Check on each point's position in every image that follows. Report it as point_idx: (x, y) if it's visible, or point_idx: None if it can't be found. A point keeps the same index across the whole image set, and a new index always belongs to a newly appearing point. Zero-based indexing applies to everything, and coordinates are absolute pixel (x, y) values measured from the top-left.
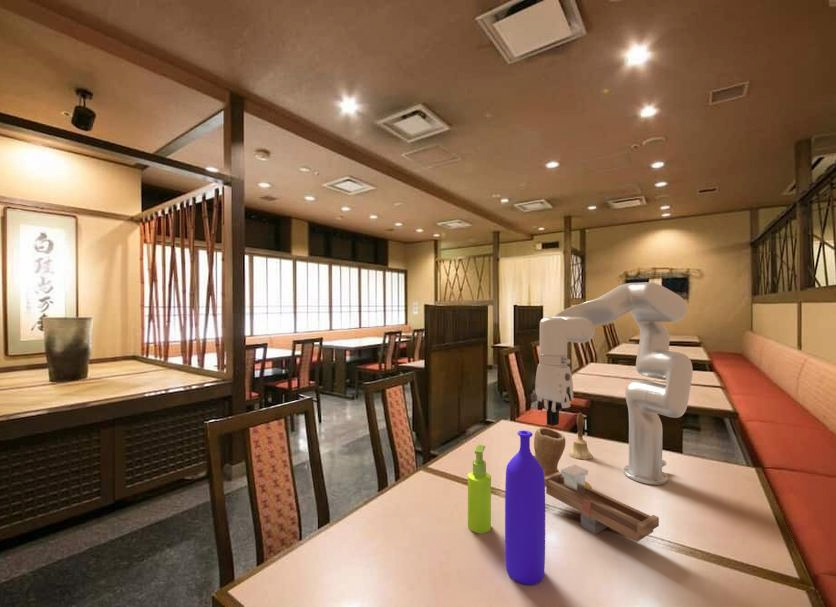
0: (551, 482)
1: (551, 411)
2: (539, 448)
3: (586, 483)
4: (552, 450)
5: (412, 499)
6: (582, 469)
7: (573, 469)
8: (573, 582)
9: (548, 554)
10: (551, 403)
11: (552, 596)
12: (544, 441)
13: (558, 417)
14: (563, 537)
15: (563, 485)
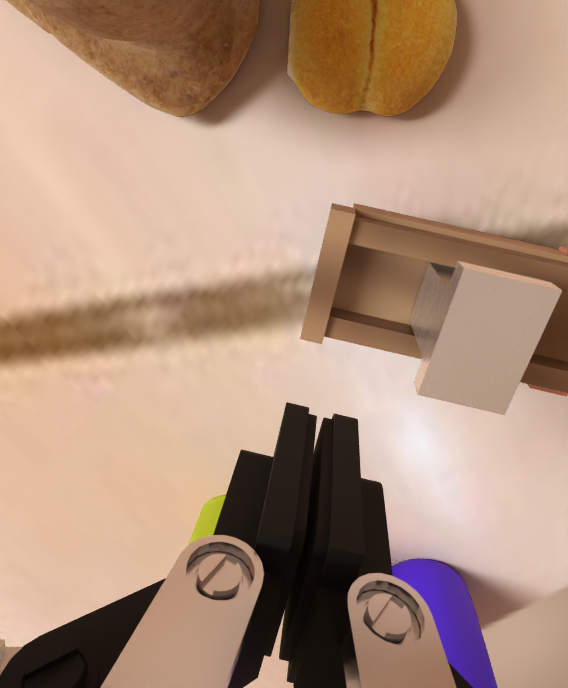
0: (350, 342)
1: (297, 660)
2: (84, 30)
3: (430, 12)
4: (180, 6)
5: (13, 532)
6: (527, 304)
7: (477, 342)
8: (530, 558)
9: (442, 510)
10: (195, 668)
11: (501, 612)
12: (92, 11)
13: (382, 531)
14: (449, 421)
15: (383, 263)
